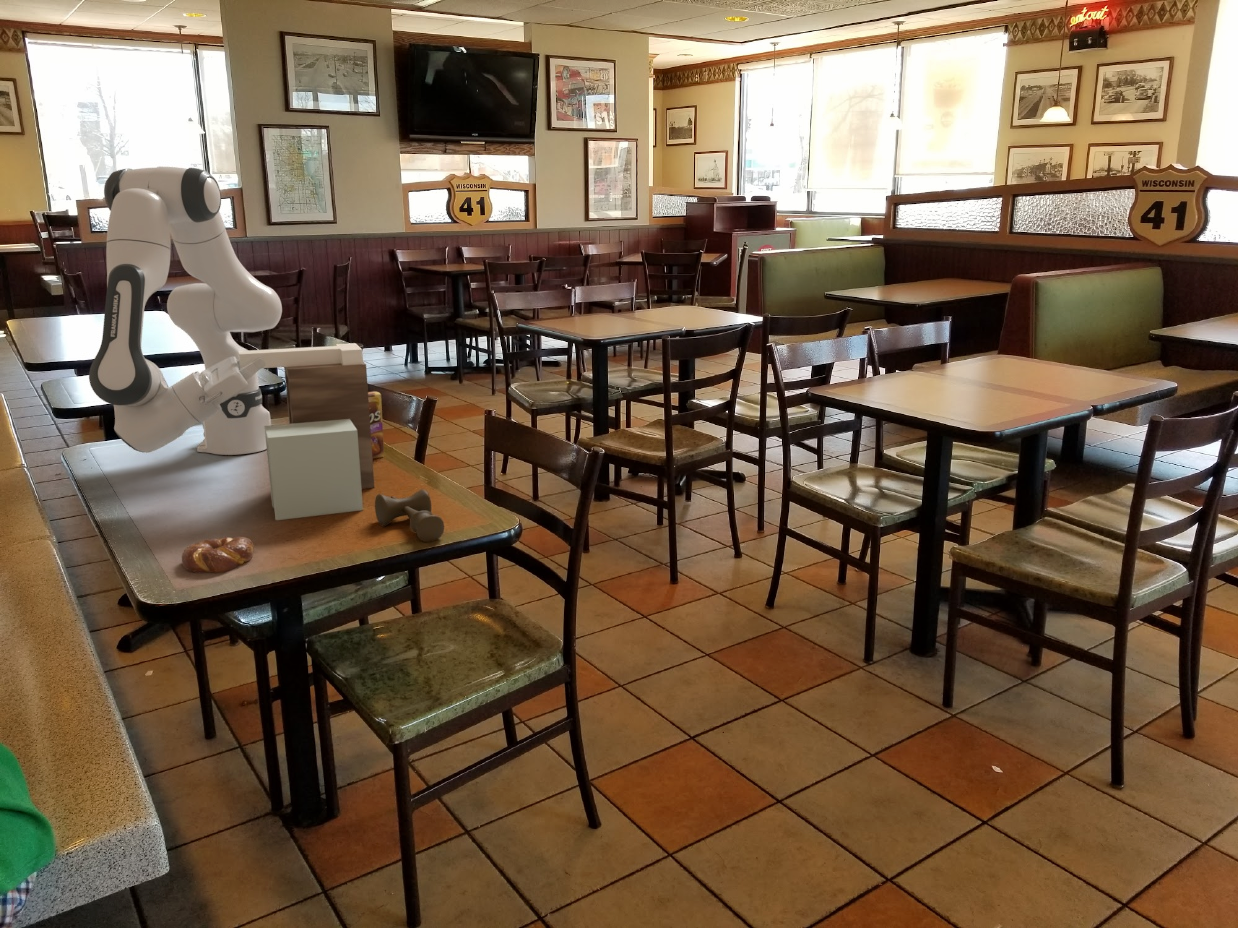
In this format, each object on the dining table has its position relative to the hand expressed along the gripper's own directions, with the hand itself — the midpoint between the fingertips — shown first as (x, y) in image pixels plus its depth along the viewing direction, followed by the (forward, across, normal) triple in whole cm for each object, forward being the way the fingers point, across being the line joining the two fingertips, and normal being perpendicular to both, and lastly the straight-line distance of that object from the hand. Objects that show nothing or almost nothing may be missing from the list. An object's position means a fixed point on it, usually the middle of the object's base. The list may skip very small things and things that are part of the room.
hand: (262, 357), depth 187 cm
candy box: (+4, +19, +35) cm, 40 cm away
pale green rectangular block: (-8, -14, +28) cm, 32 cm away
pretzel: (-24, -37, +19) cm, 48 cm away
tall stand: (-4, 0, +30) cm, 30 cm away
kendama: (+5, -32, +35) cm, 48 cm away
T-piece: (+5, 0, +5) cm, 7 cm away
